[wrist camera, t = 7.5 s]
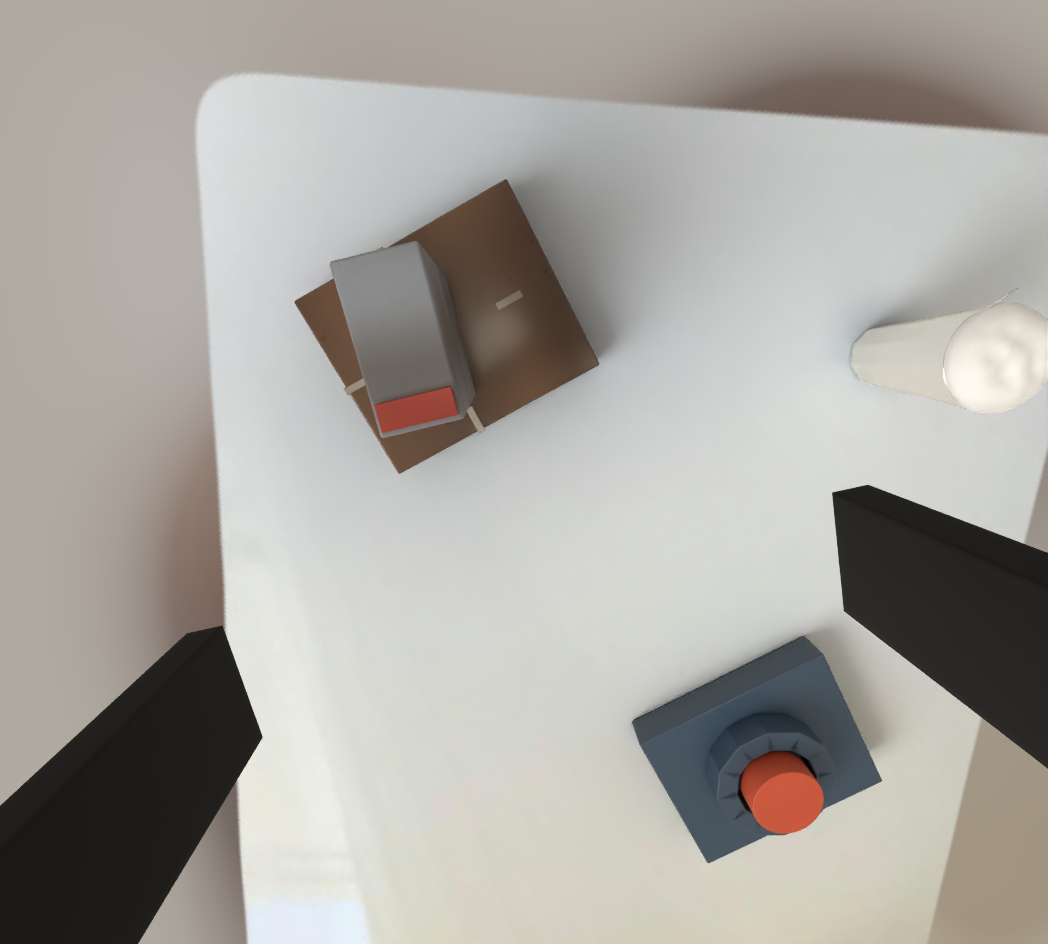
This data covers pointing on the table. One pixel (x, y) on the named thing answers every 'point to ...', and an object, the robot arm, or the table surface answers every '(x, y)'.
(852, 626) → the table surface
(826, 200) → the table surface
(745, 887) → the table surface
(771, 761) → the button
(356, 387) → the panel
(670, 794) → the button block
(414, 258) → the grey slab
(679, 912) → the table surface
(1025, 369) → the milkshake
